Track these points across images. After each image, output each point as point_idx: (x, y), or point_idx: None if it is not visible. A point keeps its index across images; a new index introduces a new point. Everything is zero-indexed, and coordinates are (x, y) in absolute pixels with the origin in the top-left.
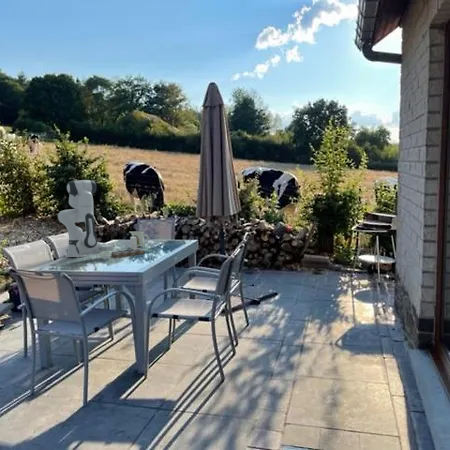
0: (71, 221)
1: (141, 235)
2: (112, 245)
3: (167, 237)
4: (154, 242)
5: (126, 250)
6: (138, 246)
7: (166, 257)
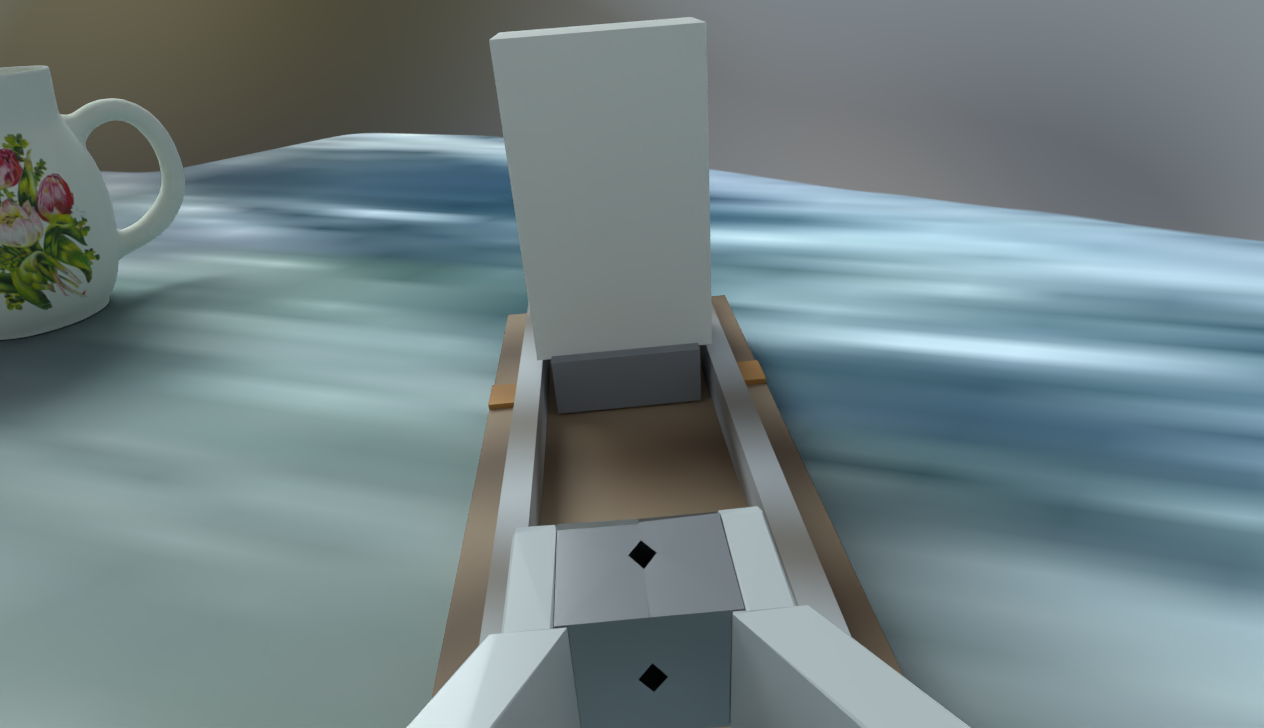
0: None
1: (60, 121)
2: (828, 635)
3: None
4: None
5: (537, 442)
6: (85, 307)
7: (1206, 242)
